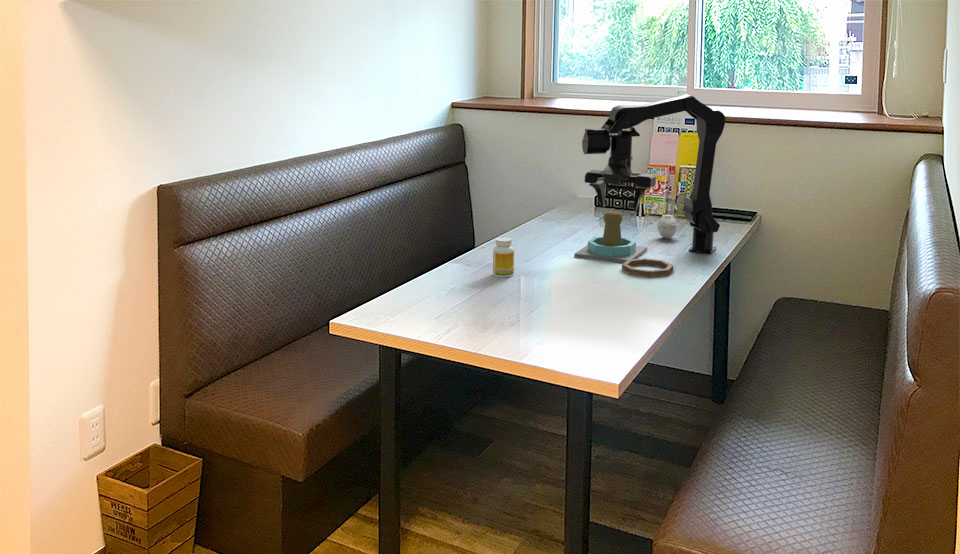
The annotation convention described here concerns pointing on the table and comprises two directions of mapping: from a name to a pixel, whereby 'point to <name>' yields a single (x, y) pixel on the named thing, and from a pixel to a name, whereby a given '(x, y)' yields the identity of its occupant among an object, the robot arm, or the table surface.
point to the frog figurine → (667, 226)
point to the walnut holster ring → (647, 273)
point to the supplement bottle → (503, 258)
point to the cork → (612, 229)
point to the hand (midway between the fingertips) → (618, 209)
